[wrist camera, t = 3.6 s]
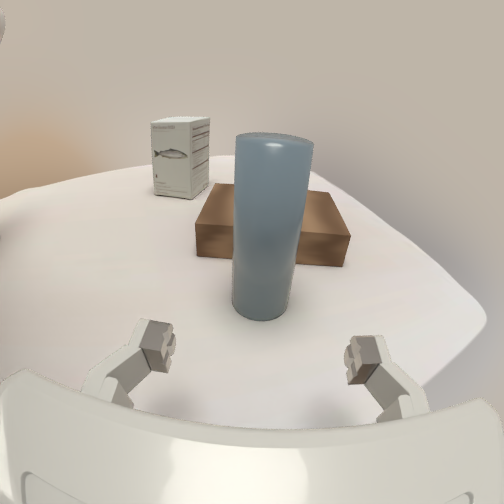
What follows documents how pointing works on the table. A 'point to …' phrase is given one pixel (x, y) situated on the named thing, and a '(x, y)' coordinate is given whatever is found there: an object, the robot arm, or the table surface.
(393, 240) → the table surface
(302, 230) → the plate
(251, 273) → the slate cylinder
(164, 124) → the supplement box
